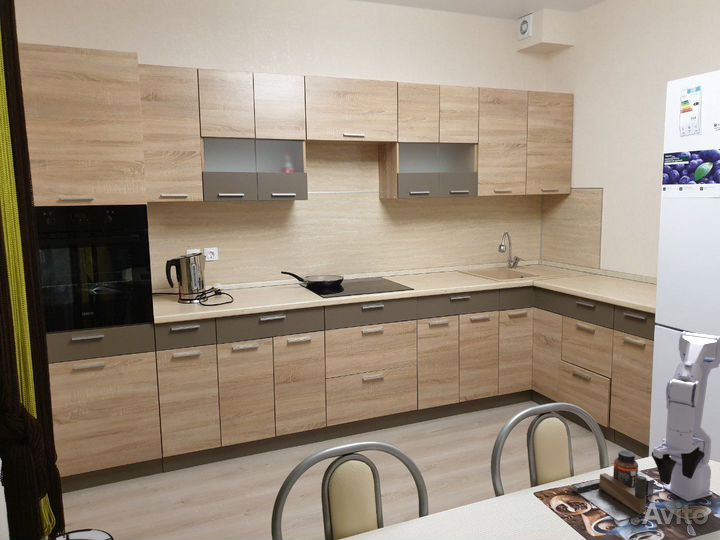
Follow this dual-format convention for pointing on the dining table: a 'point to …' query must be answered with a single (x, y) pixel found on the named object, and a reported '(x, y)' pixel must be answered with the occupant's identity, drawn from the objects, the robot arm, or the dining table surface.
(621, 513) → the vice frame
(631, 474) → the supplement bottle
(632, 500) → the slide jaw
